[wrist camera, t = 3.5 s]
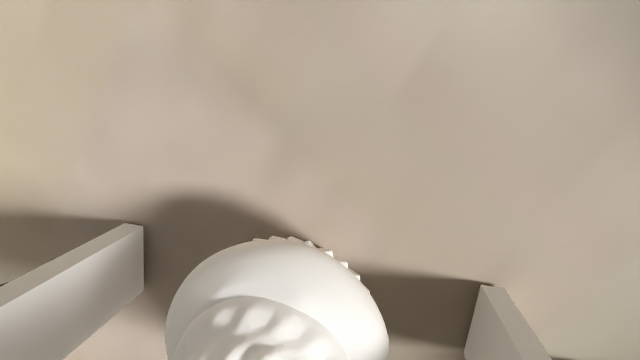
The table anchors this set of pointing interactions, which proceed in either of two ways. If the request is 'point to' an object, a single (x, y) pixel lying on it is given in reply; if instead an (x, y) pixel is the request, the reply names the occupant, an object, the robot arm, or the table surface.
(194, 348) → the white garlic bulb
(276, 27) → the table surface
